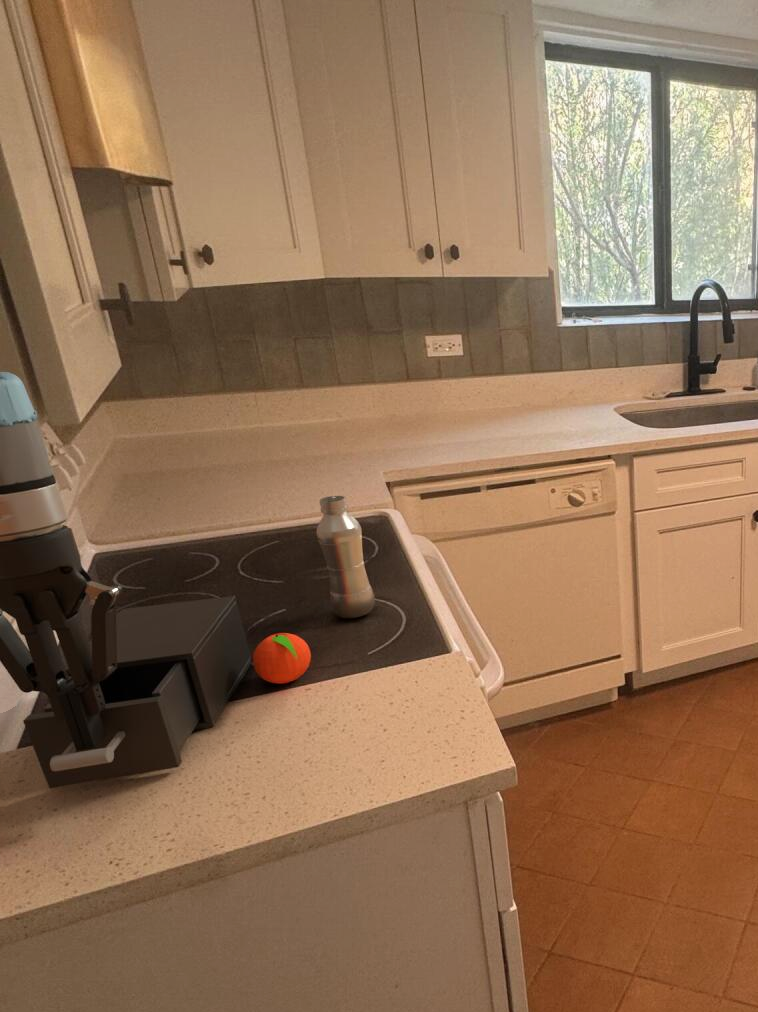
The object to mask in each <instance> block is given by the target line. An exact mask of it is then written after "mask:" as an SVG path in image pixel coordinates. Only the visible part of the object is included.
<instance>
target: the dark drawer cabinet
mask: <svg viewBox="0 0 758 1012" xmlns="http://www.w3.org/2000/svg"><path fill="white" fill-rule="evenodd" d="M116 627H117V669H119V668H126V667H134V666H141V665H149V664H156V663H163V662H171V661H178V660H186V659H187V663H188V666H189V670H190V673H191V676H192V680H193V683H194V687H195V690H196V693H197V697H198V700H199V704H200V707H201V710H202V714H203V715H202V717H201V719H200V720H199V722H198V723H197V725H196V727H195V728H194V730H193V731H197V730H204V729H210V728H214V727H215V725H216V724H217V722H218V720H219V719H220V716H221V715H222V713H223V712H224V710H225V708H226V707H227V705H228V703H229V701H230V700H231V698H232V696H233V694H234V693H235V691H236V689H238V686H239V685H240V683H241V681H242V680H243V678H244V676H245V675H246V674H247V671H248V669H249V668H250V666H251V664H252V663H253V658H252V656H251V651H250V647H249V644H248V640H247V636H246V633H245V629H244V625H243V621H242V617H241V613H240V609H239V606H238V603H237V599H236V595H232V596H231V595H230V596H224V597H223V596H222V597H212V598H205V599H197V600H196V599H195V600H188V601H179V602H170V603H161V604H154V605H146V606H136V607H128V608H122V609H120V611H119V612H117V613H116ZM88 642H89V644H90V647H91V650H92V638H91V639H90V640H88ZM64 666H65V669H66V672H67V675H68V677H71V673H70V670H69V668H68V665H67V662H66V663H64ZM72 680H73V679H72ZM72 680H71V681H72ZM71 681H70V682H71ZM70 682H68V683H67V685H68V684H69V683H70Z"/></svg>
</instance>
